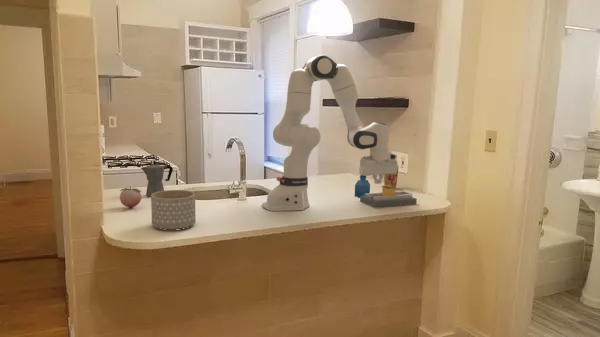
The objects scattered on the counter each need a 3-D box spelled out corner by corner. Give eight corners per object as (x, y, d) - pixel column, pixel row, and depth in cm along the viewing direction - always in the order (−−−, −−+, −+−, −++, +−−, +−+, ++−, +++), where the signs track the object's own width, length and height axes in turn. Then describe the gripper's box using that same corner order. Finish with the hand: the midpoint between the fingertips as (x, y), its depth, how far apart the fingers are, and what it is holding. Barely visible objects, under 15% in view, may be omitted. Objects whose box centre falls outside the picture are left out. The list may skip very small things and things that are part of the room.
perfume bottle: (354, 196, 236) (355, 174, 234) (358, 194, 241) (359, 172, 239) (365, 198, 233) (366, 175, 231) (369, 195, 238) (370, 173, 236)
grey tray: (375, 208, 211) (375, 198, 210) (359, 201, 224) (360, 192, 223) (416, 204, 221) (416, 195, 220) (399, 198, 233) (399, 189, 233)
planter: (160, 234, 163) (159, 200, 161) (146, 223, 176) (145, 192, 174) (202, 228, 172) (202, 195, 170) (186, 218, 185) (185, 188, 183)
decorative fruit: (117, 210, 194) (117, 188, 193) (121, 206, 202) (120, 184, 201) (140, 210, 196) (139, 188, 194) (143, 206, 204) (142, 184, 202)
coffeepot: (143, 198, 218) (141, 162, 215) (140, 195, 226) (139, 160, 223) (175, 196, 225) (174, 161, 222) (171, 192, 233) (170, 158, 230)
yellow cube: (387, 198, 219) (388, 187, 218) (381, 195, 223) (382, 185, 222) (395, 197, 220) (395, 187, 219) (388, 195, 225) (389, 185, 224)
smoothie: (379, 187, 261) (381, 154, 258) (391, 186, 265) (393, 153, 262) (388, 190, 254) (390, 155, 251) (400, 189, 258) (402, 155, 255)
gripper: (364, 157, 209) (363, 186, 211) (399, 155, 217) (398, 183, 219) (357, 155, 215) (356, 183, 217) (392, 153, 223) (391, 180, 225)
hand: (377, 183), depth 218 cm, fingers closed
